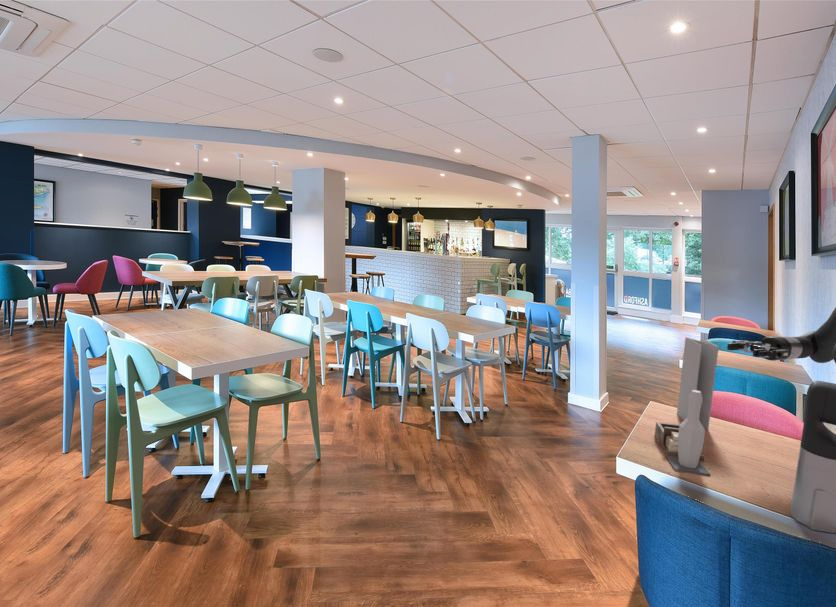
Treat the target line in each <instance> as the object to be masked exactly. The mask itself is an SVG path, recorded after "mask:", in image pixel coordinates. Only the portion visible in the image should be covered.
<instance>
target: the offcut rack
mask: <svg viewBox="0 0 836 607" xmlns="http://www.w3.org/2000/svg"><path fill="white" fill-rule="evenodd" d="M679 425H680V424H677V423H676V424H675V423H668V422H660V421H656V422H655V428H654V429H655V430H654V438H655V439H656V441H657V443H658V444H659V446H660V447H661V449H662V450H663V452H664V453H665V456H666V455H669V456H677V457H678V433H679ZM705 458H706V457H705V455H704V454H703V449H702V450H701V454H700V458H699V460H700V461H701V462H704V461H705Z"/></svg>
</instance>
